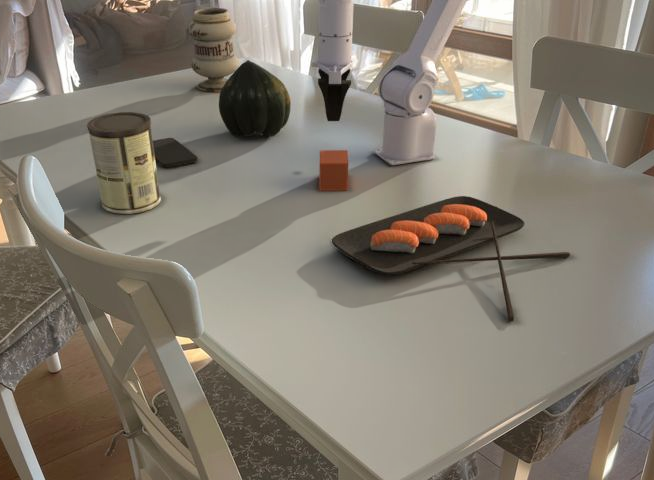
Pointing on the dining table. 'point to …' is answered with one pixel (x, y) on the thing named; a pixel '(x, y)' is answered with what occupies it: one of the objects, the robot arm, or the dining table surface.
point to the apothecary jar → (213, 47)
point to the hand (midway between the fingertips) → (333, 115)
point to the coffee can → (125, 162)
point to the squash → (254, 102)
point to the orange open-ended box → (333, 170)
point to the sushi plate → (433, 237)
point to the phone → (172, 153)
